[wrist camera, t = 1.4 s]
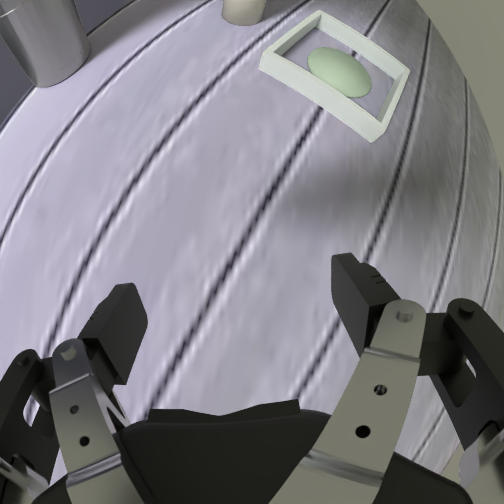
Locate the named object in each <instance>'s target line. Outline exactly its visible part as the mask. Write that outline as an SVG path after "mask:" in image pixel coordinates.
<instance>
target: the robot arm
mask: <svg viewBox="0 0 504 504" xmlns="http://www.w3.org/2000/svg"><path fill="white" fill-rule="evenodd" d="M0 35H1V37H2V38H3V40H4V41H5V43H6V44H7V46H8V48H9V49H10V51H11V52H12V54H13V55H14V57H15V58H16V60H17V61H18V63H19V64H20V66H21V67H22V69H23V70H24V71H25V73H26V74H27V76H28V77H29V79H30V80H31V81H32V83H33V84H34V86H36V87H39V88H45V87H49V86H53V85H55V84H57V83H59V82H61V81H63V80H64V79H66V78H67V77H69V76H70V75H72V74H73V73H74V72H75V71H76V70H77V69H78V68H79V67H80V66H81V65H82V64H83V63H84V62H85V60H86V59H87V57H88V55H89V53H90V44H89V42H88V39H87V36H86V34H85V31H84V28H83V25H82V22H81V20H80V16H79V14H78V11H77V8H76V5H75V2H74V0H0ZM331 292H332V299H333V303H334V305H335V307H336V309H337V311H338V313H339V315H340V317H341V319H342V322H343V324H344V326H345V328H346V330H347V332H348V334H349V336H350V338H351V340H352V342H353V345H354V347H355V349H356V351H357V353H358V355H359V358H360V360H359V362H358V365H357V367H356V369H355V371H354V373H353V375H352V377H351V379H350V381H349V383H348V385H347V387H346V389H345V391H344V393H343V395H342V397H341V399H340V401H339V403H338V405H337V407H336V408H335V410H334V412H333V414H332V415H330V414H327V413H323V412H319V411H314V410H306V409H300V406H299V401H298V399H295V400H288V401H282V402H275V403H267V404H259V405H256V406H253V407H250V408H247V409H244V410H240V411H237V412H233V413H230V414H226V415H222V416H216V415H210V414H205V413H199V412H194V411H189V410H184V409H150V411H149V415H148V419H146V420H142V421H139V422H136V423H134V424H131V423H130V421H129V420H128V418H127V416H126V414H125V412H124V410H123V408H122V406H121V404H120V402H119V399H118V397H117V395H116V393H115V392H114V390H113V386H114V385H126V383H127V381H128V378H129V375H130V372H131V369H132V366H133V364H134V361H135V358H136V355H137V353H138V350H139V347H140V345H141V342H142V339H143V337H144V334H145V332H146V329H147V325H148V320H147V314H146V311H145V309H144V306H143V304H142V301H141V299H140V296H139V293H138V291H137V288H136V286H135V284H134V283H125V284H117V285H115V286H114V288H113V289H112V291H111V292H110V294H109V295H108V297H107V298H105V299H104V300H103V301H102V302H101V303H100V304H99V305H98V306H97V308H96V309H95V311H94V313H93V314H92V315H91V317H90V320H88V321H87V323H86V325H85V326H84V328H83V329H82V331H81V333H80V334H79V336H78V337H77V339H76V338H73V339H69V340H66V341H64V342H62V343H61V344H60V345H58V346H57V347H56V349H55V350H54V352H53V354H52V357H49V358H45V359H40V357H39V356H38V354H37V352H36V351H35V350H33V349H27V350H24V351H22V352H21V353H19V354H18V355H17V356H16V357H15V358H14V360H13V361H12V363H11V365H10V366H9V368H8V369H7V371H6V373H5V374H4V376H3V378H2V380H1V381H0V504H504V333H503V331H502V330H501V329H500V328H499V327H498V326H497V324H496V323H495V322H494V321H493V320H492V319H491V317H490V316H489V315H488V314H487V313H486V312H485V311H484V310H483V309H482V308H481V306H480V305H478V304H477V303H476V302H474V301H472V300H469V299H464V298H458V299H454V300H452V301H451V302H450V303H449V304H448V307H447V311H446V313H426V312H425V310H424V308H423V307H422V306H421V305H420V304H418V303H416V302H414V301H411V300H405V299H401V298H400V297H399V296H398V294H397V293H396V292H395V291H394V290H393V288H392V287H391V286H390V285H389V284H388V282H386V280H385V279H384V278H383V277H382V276H381V274H380V273H379V272H378V271H377V270H376V268H374V267H373V266H371V265H369V264H367V263H359V261H358V260H357V259H356V258H355V256H354V255H353V254H352V253H344V254H337V255H333V256H332V259H331ZM466 359H468V360H469V362H470V363H471V365H472V366H473V368H474V370H475V372H476V378H475V376H474V374H473V373H472V371H471V370H470V368H469V366H468V365H467V363H466V362H465V361H466ZM426 375H429V376H430V378H431V380H432V382H433V384H434V386H435V388H436V390H437V392H438V394H439V396H440V398H441V400H442V402H443V404H444V406H445V408H446V410H447V412H448V414H449V417H450V419H451V421H452V423H453V425H454V428H455V430H456V432H457V434H458V437H459V439H460V441H461V444H462V446H463V448H464V453H463V454H462V457H461V459H460V465H459V469H460V472H459V477H460V479H461V480H460V484H457V483H456V482H454V481H451V480H449V479H447V478H445V477H443V476H441V475H439V474H437V473H435V472H432V471H430V470H428V469H426V468H424V467H423V466H421V465H419V464H417V463H415V462H413V461H411V460H409V459H407V458H405V457H404V456H402V455H400V454H398V453H396V452H395V451H394V449H395V447H396V444H397V441H398V439H399V436H400V433H401V430H402V427H403V424H404V421H405V418H406V415H407V412H408V408H409V405H410V401H411V398H412V394H413V391H414V387H415V383H416V379H417V376H426ZM30 395H32V396H33V398H34V399H35V400H36V401H37V402H38V403H39V405H40V407H39V409H38V412H37V414H36V416H35V419H34V421H33V424H32V426H31V427H30V426H29V425H28V424H27V423H26V421H25V419H24V416H23V410H24V407H25V405H26V403H27V401H28V399H29V397H30ZM59 448H60V449H61V452H62V456H63V459H64V463H65V466H66V469H67V472H68V473H67V474H66V475H65V476H63V477H62V478H61V479H60V480H58V481H57V482H56V483H54V484H53V485H52V486H50V487H49V485H50V480H51V476H52V473H53V469H54V465H55V461H56V458H57V454H58V451H59Z"/></svg>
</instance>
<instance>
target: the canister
mask: <svg viewBox="0 0 504 504" xmlns="http://www.w3.org/2000/svg"><path fill="white" fill-rule="evenodd" d="M265 4H266V0H223V7H222V18H223V19H224V20H225V21H227V22H228V23H231V24H234V25H239V26H250V25H255V24H257V23H259V22H260V21H261V18H262V15H263V11H264V7H265Z"/></svg>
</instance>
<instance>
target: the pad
mask: <svg viewBox="0 0 504 504" xmlns="http://www.w3.org/2000/svg"><path fill="white" fill-rule="evenodd" d="M307 64H308V68H309V70H310V72H311V74H313V75H314V76H316V77H317V78H319V79H321V80H322V81H324V82H325V83H327V84H328V85H330V86H331V87H333V88H334V89H336V90H337V91H339V92H340V93H342V94H343V95H345V96H346V97H348V98H360V97H363V96H365V95H366V94H367V93H368V92H369V91H370V89H371V79H370V76H369V74H368V72H367V71H366V69H365V68H364V67H363V66H362V64H361V63H360V62H358V61H357V60H356V59H355V58H353V57H352V56H350V55H349V54H347V53H345V52H343V51H340V50H338V49H334V48H328V47H322V48H317V49H315V50H313V51H312V52H311V53H310V55H309V57H308V60H307Z"/></svg>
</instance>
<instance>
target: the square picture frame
mask: <svg viewBox="0 0 504 504" xmlns="http://www.w3.org/2000/svg"><path fill="white" fill-rule="evenodd" d="M315 27H316V28H318V29H320V30H321V31H323V32H325V33H327V34H328V35H330V36H332V37H334V38H335V39H337V40H339V41H340V42H342V43H343V44H345V45H347V46H348V47H350V48H351V49H353V50H354V51H356V52H357V53H359V54H360V55H362V56H363V57H365V58H366V59H368V60H369V61H370V62H372V63H373V64H375V65H376V66H377V67H379V68H380V69H381V70H383V71H384V72H385V73H387V74H388V75H389V76H390V77H392V78H393V79H394V82H393V85H392V87H391V89H390V91H389V93H388V95H387V97H386V99H385V101H384V104H383V106H382V108H381V110H380V112H379V114H378V116H377V118H376V119H375V118H374V117H373V116H372V115H370V114H369V113H368V112H366V111H365V110H364V109H362V108H361V107H360V106H358V105H357V104H356V103H354V102H353V101H352V100H350V99H349V98H347V97H346V96H345V95H343V94H342V93H340V92H339V91H337V90H336V89H334V88H333V87H331V86H330V85H328V84H327V83H325V82H324V81H322V80H321V79H319V78H317V77H316V76H314V75H313V74H311V73H309V72H308V71H306V70H304V69H303V68H301V67H299V66H297V65H296V64H294V63H292V62H290V61H289V60H287V59H285V58H283V57H281V56H282V55H283V54H284V53H285V52H286V51H287V50H289V49H290V48H291V47H292V46H293V45H294V44H295V43H297V42H298V41H299V40H300V39H301V38H302V37H304V36H305V35H306V34H307V33H308V32H310V31H311V30H312V29H313V28H315ZM258 69H259V70H261V71H263V72H265V73H266V74H268V75H270V76H272V77H274V78H275V79H277V80H279V81H281V82H282V83H284V84H286V85H288V86H289V87H291V88H293V89H294V90H296V91H298V92H299V93H301V94H302V95H304V96H306V97H307V98H309V99H310V100H312V101H313V102H315V103H316V104H318V105H319V106H321V107H322V108H324V109H325V110H327V111H328V112H330V113H331V114H333V115H334V116H335V117H337V118H338V119H340V120H341V121H342V122H344V123H345V124H347V125H348V126H349V127H351V128H352V129H353V130H355V131H356V132H357V133H359V134H360V135H361V136H362V137H364V138H365V139H366V140H368V141H369V142H370V143H372V142H373V141H375V140H376V139H377V138H378V137H379V136H381V135H382V134H383V133H384V132H385V130H386V128H387V126H388V124H389V121H390V119H391V117H392V114H393V112H394V110H395V107H396V105H397V103H398V100H399V98H400V95H401V93H402V91H403V88H404V86H405V83H406V81H407V78H408V75H409V73H410V70H409V69H408V68H407V67H406V66H404V65H403V64H402V63H401V62H399V61H398V60H397V59H396V58H394V57H393V56H392V55H390V54H389V53H388V52H386V51H385V50H384V49H382V48H381V47H379V46H378V45H377V44H375V43H374V42H372V41H371V40H369V39H368V38H366V37H365V36H363V35H362V34H360V33H359V32H357V31H355V30H354V29H352V28H351V27H349V26H347V25H346V24H344V23H342V22H341V21H339V20H337V19H335V18H334V17H332V16H330V15H328V14H326V13H324V12H322V11H321V10H318V11H316V12H315V13H313V14H312V15H310V16H309V17H308V18H306V19H305V20H303V21H302V22H301V23H299V24H298V25H297V26H295V27H294V28H293V29H291V30H290V31H289V32H287V33H286V34H285V35H284V36H282V37H281V38H280V39H279V40H277V41H276V42H275V43H274V44H272V45H271V46H270V47H269V48H267V49H266V50H265V51H264V52H263V54H262V58H261V61H260V64H259V68H258Z"/></svg>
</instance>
